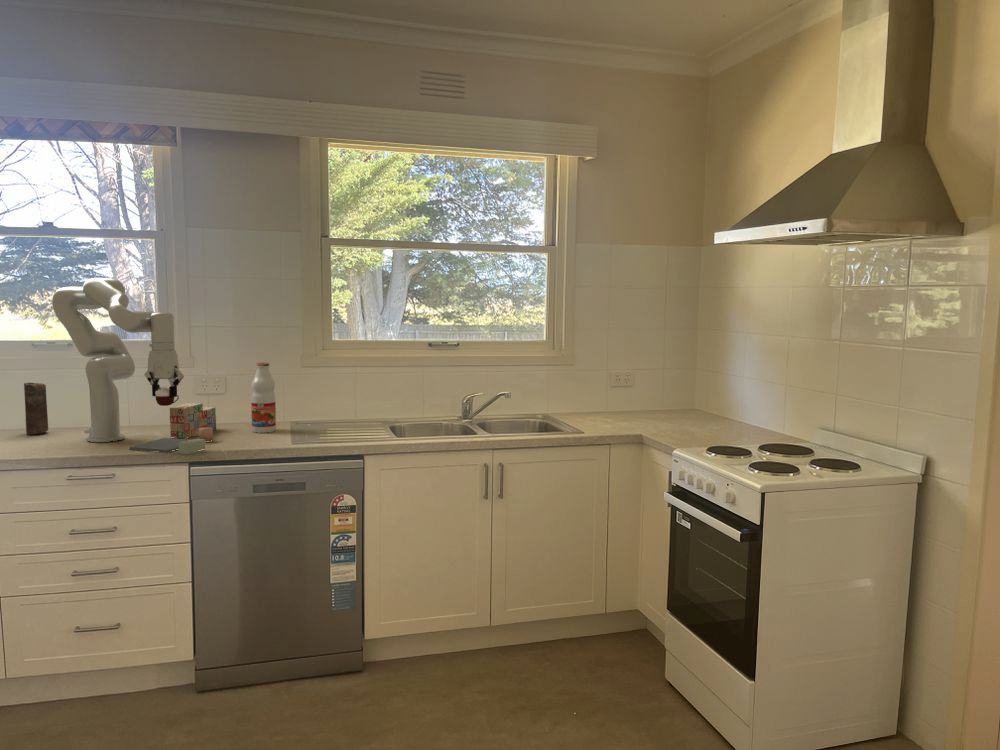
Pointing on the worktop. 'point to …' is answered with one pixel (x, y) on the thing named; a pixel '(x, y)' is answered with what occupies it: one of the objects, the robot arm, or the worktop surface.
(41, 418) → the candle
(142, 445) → the mat
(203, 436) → the terracotta cylinder
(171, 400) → the cocoa
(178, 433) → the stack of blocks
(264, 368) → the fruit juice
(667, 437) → the worktop surface
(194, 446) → the green brick
